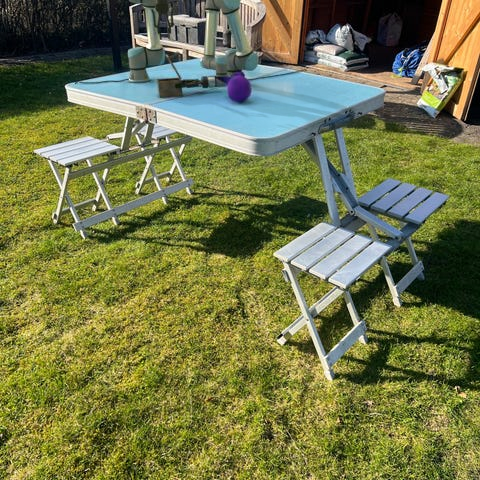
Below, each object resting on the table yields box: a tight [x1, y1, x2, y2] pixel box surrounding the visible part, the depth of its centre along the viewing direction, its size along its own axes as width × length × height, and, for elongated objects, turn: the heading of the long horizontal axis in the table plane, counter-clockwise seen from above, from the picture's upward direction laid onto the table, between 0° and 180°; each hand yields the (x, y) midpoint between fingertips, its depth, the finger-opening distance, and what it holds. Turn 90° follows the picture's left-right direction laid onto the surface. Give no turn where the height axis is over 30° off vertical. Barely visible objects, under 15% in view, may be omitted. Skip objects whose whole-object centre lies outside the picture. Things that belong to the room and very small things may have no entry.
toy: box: [215, 71, 252, 103], centre depth 277 cm, size 16×18×27 cm
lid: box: [165, 50, 183, 80], centre depth 288 cm, size 16×9×8 cm
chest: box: [156, 77, 184, 99], centre depth 293 cm, size 15×9×10 cm, turn 105°
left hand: (165, 39), depth 279 cm, fingers open, 4 cm apart
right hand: (174, 84), depth 293 cm, fingers closed on chest, 9 cm apart
